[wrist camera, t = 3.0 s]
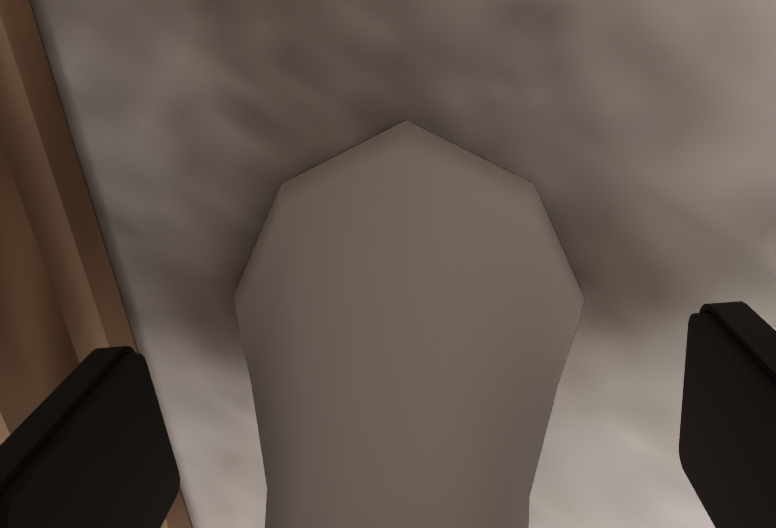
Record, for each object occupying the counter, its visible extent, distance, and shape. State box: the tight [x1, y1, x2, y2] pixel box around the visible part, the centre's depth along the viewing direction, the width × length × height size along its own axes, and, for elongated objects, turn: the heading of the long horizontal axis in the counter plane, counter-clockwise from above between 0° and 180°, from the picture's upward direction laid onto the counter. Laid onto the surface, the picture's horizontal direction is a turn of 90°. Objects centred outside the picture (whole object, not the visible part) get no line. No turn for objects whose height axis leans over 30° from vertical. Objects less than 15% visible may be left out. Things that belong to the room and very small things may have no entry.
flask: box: [234, 120, 585, 528], centre depth 9 cm, size 7×7×10 cm
